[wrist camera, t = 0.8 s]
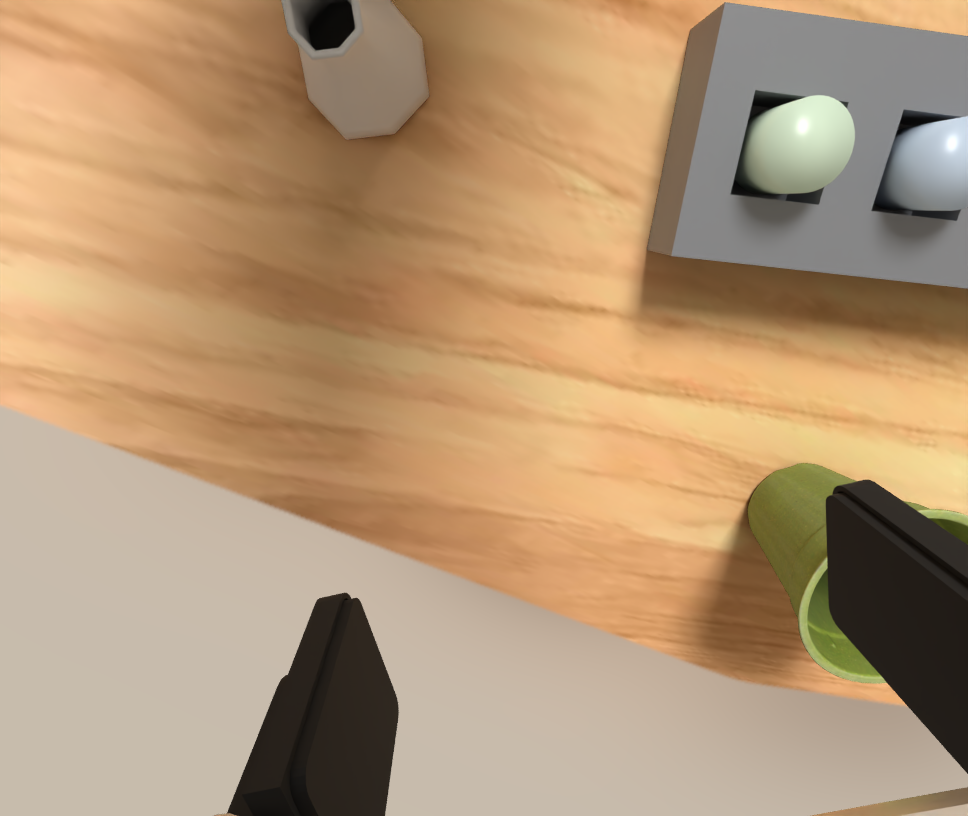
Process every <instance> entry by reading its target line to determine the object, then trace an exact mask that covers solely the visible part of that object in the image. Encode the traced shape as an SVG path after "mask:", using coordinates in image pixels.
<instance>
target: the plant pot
mask: <svg viewBox="0 0 968 816" xmlns="http://www.w3.org/2000/svg"><path fill="white" fill-rule="evenodd" d="M853 482H857V481H855V480H852V479H850V478H848V477H845V476H843V475H841V474H838V473H836V472H834V471H832V470H829V469H827V468H824V467H822V466H819V465H815V464H808V463H801V464H797V465H794V466H792V467H788V468H785V469H781V470H778V471H775V472H774V473H772V474H771V475H769V476H768V477H767V478H766V479H765V480H763V481H762V482H761V483H760V484H759V486H758V487H757V488H756V490H755V491H754V493H753V495H752V497H751V499H750V502H749V505H748V518H749V524H750V528H751V531H752V532H753V534H754V536H755V538H756V539H757V541H758V543H759V545H760V546H761V548H762V550H763V552H764V553H765V555H766V557H767V558H768V560H769V562H770V564H771V565H772V567H773V569H774V571H775V572H776V574H777V576H778V578H779V579H780V581H781V583H782V585H783V586H784V588H785V590H786V592H787V593H788V595H789V597H790V601H791V604H792V607H793V609H794V612H795V614H796V616H797V617H798V627H799V633H800V636H801V640H802V642H803V644H804V646H805V648H806V650H807V652H808V653H809V655H810V656H811V657H812V659H813V660H814V661H815V662H816V663H817V664H818V665H819V666H821V667H822V668H823V669H825V670H826V671H828V672H830V673H832V674H834V675H836V676H838V677H841V678H843V679H847V680H850V681H855V682H861V683H887V682H886V681H885V680H884V679H883V678H882V676H881V675H880V674H879V673H878V672H877V671H876V670H875V669H874V667H873V666H872V665H871V664H870V663H869V662H868V661H867V660H866V658H865V657H864V656H863V655H862V654H861V653H860V652H859V651H858V649H857V648H856V647H855V646H854V645H853V644H852V643H851V641H850V640H849V639H848V638H847V637H846V636H845V635H844V634H843V632H842V631H841V630H840V629H839V628H838V627H837V625H836V624H835V622H834V621H833V619H832V616H831V614H830V611H829V601H828V568H827V535H826V498H827V497H828V496H829V495H832V494H833V490H834V488H835V487H836V486H839V485H843V484H848V483H853ZM903 502H905V501H903ZM905 503H906V504H908V505H909V506H911V507H912V508H914V509H915V510H917V511H918V512H920V513H921V514H923V515H924V516H926V517H927V518H929V519H930V520H932V521H933V522H935V523H936V524H938V525H939V526H941V527H942V528H943V529H945V530H946V531H948V532H949V533H951V534H952V535H954V536H955V537H957V538H958V539H960V540H961V541H963V542H964V543H966V544H967V545H968V516H967V515H964V514H961V513H958V512H954V511H949V510H941V509H929V508H927V507H924V506H921V505H919V504H915V503H911V502H905Z"/></svg>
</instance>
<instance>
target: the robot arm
mask: <svg viewBox="0 0 968 816" xmlns="http://www.w3.org/2000/svg"><path fill="white" fill-rule="evenodd" d="M826 535H827V568H828V601H829V611H830V614H831V616H832V619H833V621H834V622H835V624H836V625H837V627H838V628H839V629H840V630H841V631H842V632H843V634H844V635H845V636H846V637H847V638H848V639H849V640H850V641H851V643H852V644H853V645H854V646H855V647H856V648H857V649H858V651H859V652H860V653H861V654H862V655H863V656H864V657H865V658H866V660H867V661H868V662H869V663H870V664H871V665H872V666H873V667H874V669H875V670H876V671H877V672H878V673H879V674H880V675H881V676H882V678H883V679H884V680H885V681H886V682H887V683H888V684H889V685H890V687H891V688H892V689H893V690H894V691H895V692H896V693H897V695H898V696H899V697H900V698H901V699H902V700H903V701H904V702H905V704H906V705H907V706H908V707H909V708H910V709H911V710H912V711H913V713H914V714H915V715H916V716H917V717H918V718H919V719H920V720H921V722H922V723H923V724H924V725H925V726H926V727H927V728H928V729H929V730H930V732H931V733H932V734H933V735H934V736H935V737H936V739H937V740H938V741H939V742H940V743H941V744H942V745H943V746H944V748H945V749H946V750H947V751H948V752H949V753H950V754H951V755H952V757H953V758H954V759H955V760H956V761H957V762H958V763H959V764H960V766H961V767H962V768H963V769H964V770H965V771H966V772H967V774H968V545H967V544H966V543H964V542H963V541H961V540H960V539H958V538H957V537H955V536H954V535H952V534H951V533H949V532H948V531H946V530H945V529H943V528H942V527H941V526H939V525H938V524H936V523H935V522H933V521H932V520H930V519H929V518H927V517H926V516H924V515H923V514H921V513H920V512H918V511H917V510H915V509H914V508H912V507H911V506H909V505H908V504H906V503H905V502H903V501H902V500H900V499H899V498H897V497H896V496H894V495H893V494H891V493H890V492H888V491H887V490H885V489H884V488H882V487H881V486H879V485H878V484H876V483H875V482H873V481H871V480H862V481H857V482H853V483H848V484H843V485H839V486H836V487H835V488H834V490H833V494H832V495H829V496H828V497H827V498H826ZM397 723H398V702H397V697H396V694H395V691H394V689H393V686H392V683H391V681H390V678H389V675H388V673H387V670H386V667H385V665H384V662H383V660H382V657H381V654H380V652H379V649H378V646H377V644H376V641H375V639H374V636H373V633H372V631H371V628H370V625H369V623H368V620H367V618H366V615H365V612H364V610H363V607H362V604H361V602H360V600H359V599H358V598H353V599H351V597H350V596H349V594H347V593H342V594H337V595H332V596H328V597H323V598H319V599H318V600H317V602H316V604H315V606H314V609H313V611H312V614H311V616H310V619H309V622H308V624H307V627H306V629H305V632H304V634H303V637H302V640H301V642H300V645H299V648H298V650H297V653H296V655H295V658H294V660H293V663H292V666H291V668H290V671H289V673H288V675H286V676H285V677H283V678H282V679H281V681H280V683H279V685H278V687H277V689H276V692H275V694H274V697H273V699H272V701H271V704H270V707H269V709H268V712H267V714H266V717H265V719H264V722H263V724H262V727H261V729H260V732H259V734H258V737H257V740H256V742H255V744H254V747H253V749H252V752H251V754H250V757H249V760H248V762H247V764H246V767H245V770H244V772H243V775H242V777H241V780H240V782H239V784H238V787H237V790H236V792H235V794H234V797H233V800H232V802H231V805H230V807H229V810H228V812H227V814H219V815H214V816H385V811H386V804H387V796H388V789H389V782H390V774H391V766H392V759H393V752H394V745H395V737H396V730H397ZM812 816H968V787H967V788H961V789H956V790H950V791H944V792H939V793H934V794H928V795H923V796H917V797H912V798H906V799H901V800H895V801H889V802H884V803H878V804H873V805H868V806H862V807H856V808H851V809H845V810H840V811H834V812H828V813H823V814H817V815H812Z"/></svg>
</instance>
